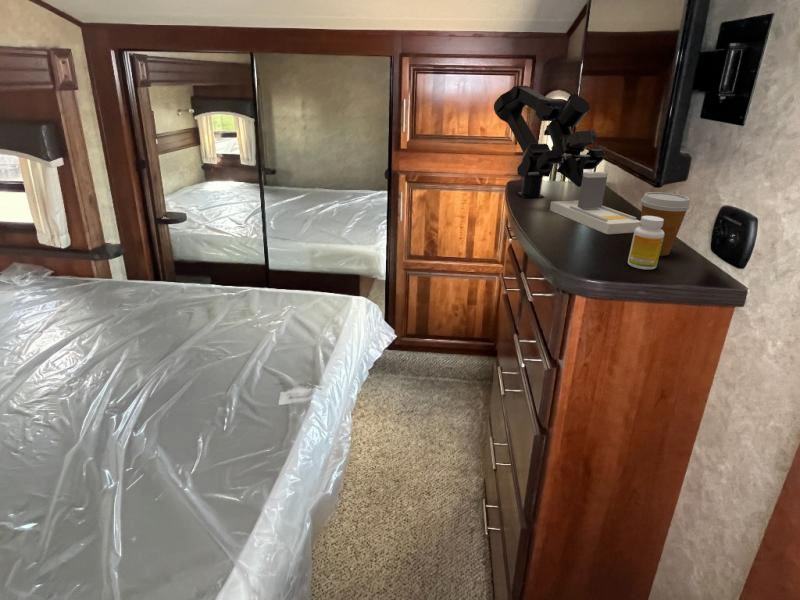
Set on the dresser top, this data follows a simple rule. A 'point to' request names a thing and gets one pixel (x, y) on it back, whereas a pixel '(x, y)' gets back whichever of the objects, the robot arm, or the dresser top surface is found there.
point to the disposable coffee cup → (666, 214)
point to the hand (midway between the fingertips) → (580, 186)
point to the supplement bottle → (646, 243)
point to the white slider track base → (597, 217)
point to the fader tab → (592, 190)
